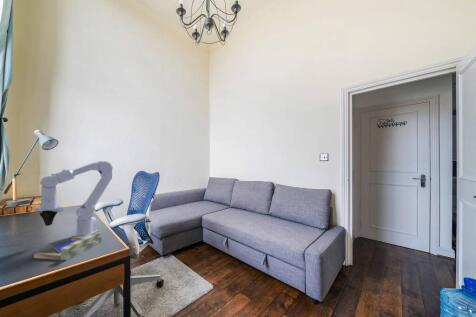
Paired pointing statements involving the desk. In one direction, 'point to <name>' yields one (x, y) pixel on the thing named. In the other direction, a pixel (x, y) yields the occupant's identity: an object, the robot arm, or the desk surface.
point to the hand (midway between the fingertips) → (48, 225)
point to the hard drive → (59, 246)
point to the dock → (73, 247)
